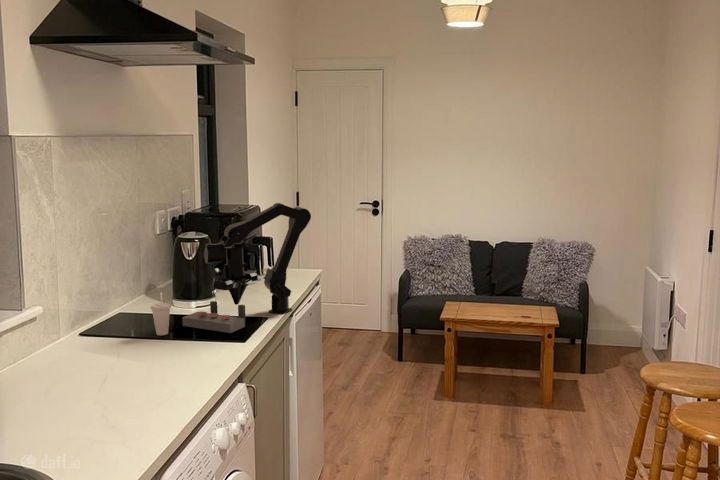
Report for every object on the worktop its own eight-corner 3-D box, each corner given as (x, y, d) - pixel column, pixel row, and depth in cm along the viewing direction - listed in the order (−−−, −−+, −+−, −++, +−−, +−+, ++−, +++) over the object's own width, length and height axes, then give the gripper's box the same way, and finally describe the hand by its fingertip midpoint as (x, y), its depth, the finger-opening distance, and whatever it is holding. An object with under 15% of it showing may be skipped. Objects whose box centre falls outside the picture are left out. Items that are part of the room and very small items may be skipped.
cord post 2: (241, 321, 248) (240, 304, 247) (247, 322, 247) (246, 305, 246) (237, 322, 246) (236, 306, 245) (242, 323, 245) (242, 306, 244)
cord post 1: (213, 317, 253) (213, 300, 252) (219, 318, 252) (218, 301, 251) (209, 318, 251) (208, 302, 250) (214, 319, 250) (214, 303, 249)
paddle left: (201, 314, 245) (202, 311, 245) (206, 314, 244) (206, 312, 244) (196, 314, 243) (196, 311, 243) (201, 315, 242) (201, 312, 242)
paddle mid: (213, 315, 243) (213, 313, 243) (218, 316, 242) (218, 313, 242) (208, 316, 240) (208, 313, 240) (213, 317, 240) (213, 314, 240)
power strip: (198, 319, 250) (197, 311, 249) (244, 326, 241) (244, 318, 240) (182, 325, 243) (182, 317, 242) (230, 333, 234) (230, 324, 233)
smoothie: (160, 337, 229) (158, 295, 227) (148, 334, 233) (145, 292, 231) (176, 332, 234) (174, 291, 232) (164, 329, 238) (161, 288, 236)
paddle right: (225, 317, 241) (225, 314, 241) (230, 318, 240) (230, 315, 240) (220, 318, 238) (220, 315, 238) (225, 318, 237) (225, 315, 237)
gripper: (232, 254, 262) (234, 296, 265) (199, 263, 246) (201, 307, 248) (257, 257, 257) (259, 299, 260) (225, 266, 241) (227, 311, 243)
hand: (236, 304), depth 253 cm, fingers closed
